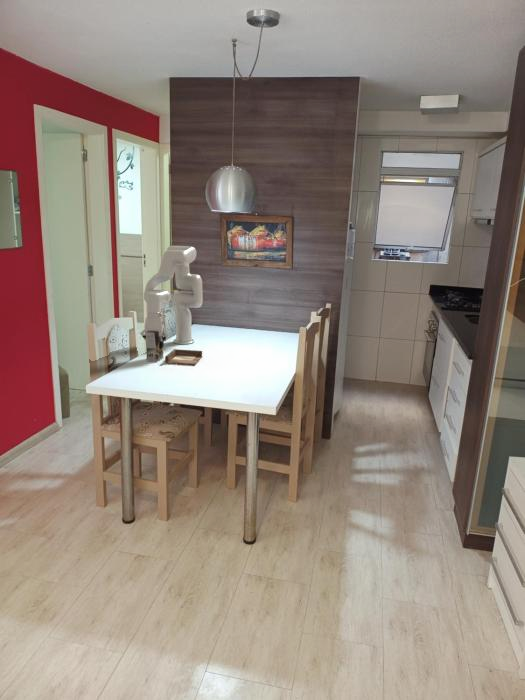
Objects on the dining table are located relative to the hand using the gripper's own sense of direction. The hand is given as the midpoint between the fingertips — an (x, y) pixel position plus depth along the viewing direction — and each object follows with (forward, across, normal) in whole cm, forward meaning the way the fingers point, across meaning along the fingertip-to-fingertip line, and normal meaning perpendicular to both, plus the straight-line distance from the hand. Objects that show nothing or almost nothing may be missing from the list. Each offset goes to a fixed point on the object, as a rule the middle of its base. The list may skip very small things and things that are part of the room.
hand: (154, 347), depth 285 cm
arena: (+7, -16, -1) cm, 17 cm away
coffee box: (+7, 0, 0) cm, 7 cm away
